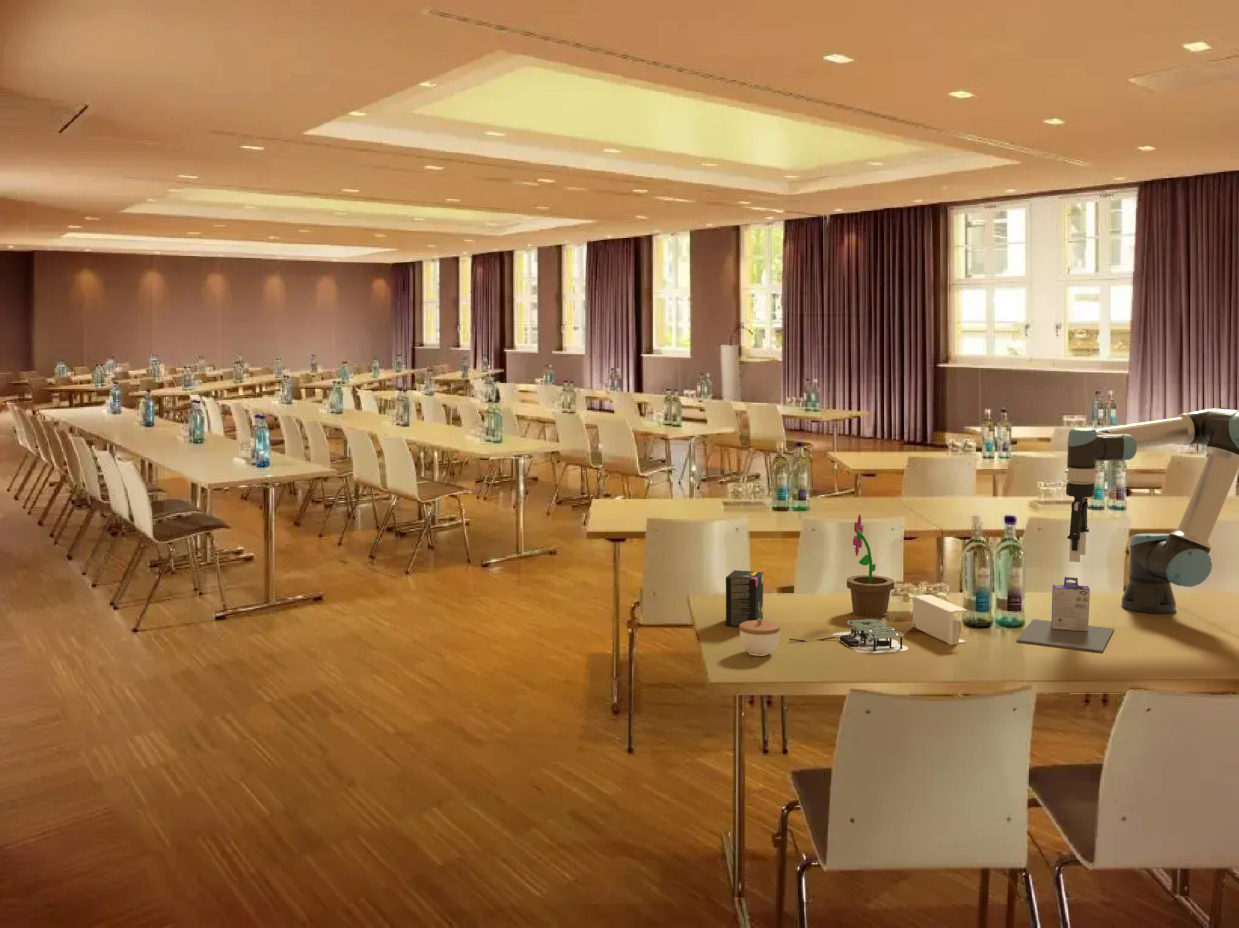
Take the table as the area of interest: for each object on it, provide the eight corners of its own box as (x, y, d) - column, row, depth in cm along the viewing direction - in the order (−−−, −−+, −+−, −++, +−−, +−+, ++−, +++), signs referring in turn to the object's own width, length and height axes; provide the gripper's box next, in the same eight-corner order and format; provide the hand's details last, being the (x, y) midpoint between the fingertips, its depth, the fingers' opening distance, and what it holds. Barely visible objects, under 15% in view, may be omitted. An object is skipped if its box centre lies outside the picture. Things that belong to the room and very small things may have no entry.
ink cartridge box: (1087, 627, 328) (1089, 577, 327) (1088, 632, 323) (1091, 581, 321) (1050, 624, 331) (1052, 575, 329) (1051, 629, 326) (1053, 579, 324)
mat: (1033, 621, 338) (1033, 619, 338) (1113, 630, 327) (1114, 628, 327) (1016, 641, 316) (1016, 639, 316) (1102, 652, 305) (1102, 650, 305)
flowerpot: (851, 605, 357) (853, 510, 353) (898, 610, 351) (900, 513, 347) (840, 616, 344) (842, 518, 341) (888, 621, 338) (890, 521, 335)
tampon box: (756, 628, 331) (756, 579, 329) (724, 626, 334) (725, 577, 332) (763, 619, 342) (764, 571, 340) (733, 616, 345) (733, 569, 343)
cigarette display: (966, 643, 315) (967, 610, 314) (948, 645, 314) (949, 611, 313) (926, 625, 334) (927, 593, 333) (910, 626, 333) (910, 595, 332)
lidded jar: (784, 658, 302) (785, 623, 301) (745, 660, 301) (745, 625, 299) (772, 646, 313) (773, 613, 312) (734, 648, 311) (734, 615, 310)
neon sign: (782, 623, 322) (879, 617, 329) (782, 638, 323) (878, 631, 329) (810, 644, 302) (913, 637, 308) (810, 659, 302) (913, 652, 309)
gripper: (1072, 476, 340) (1069, 549, 343) (1060, 486, 320) (1057, 564, 323) (1099, 477, 337) (1096, 551, 339) (1088, 488, 317) (1085, 566, 320)
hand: (1077, 557), depth 331 cm, fingers open, 10 cm apart
